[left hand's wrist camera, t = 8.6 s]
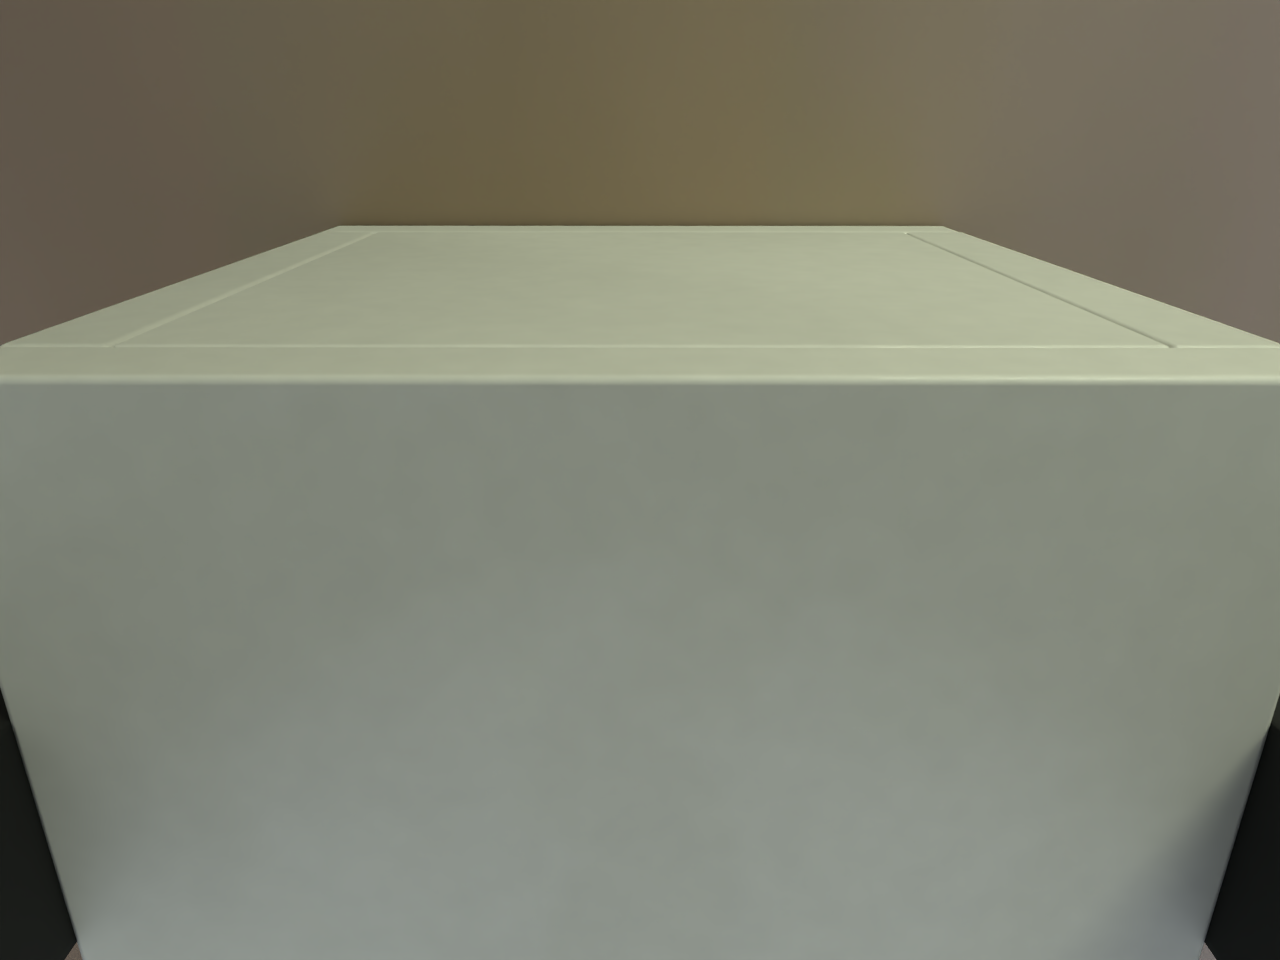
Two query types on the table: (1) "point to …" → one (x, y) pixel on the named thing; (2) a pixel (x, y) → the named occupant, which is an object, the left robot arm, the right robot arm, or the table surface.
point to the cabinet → (640, 600)
